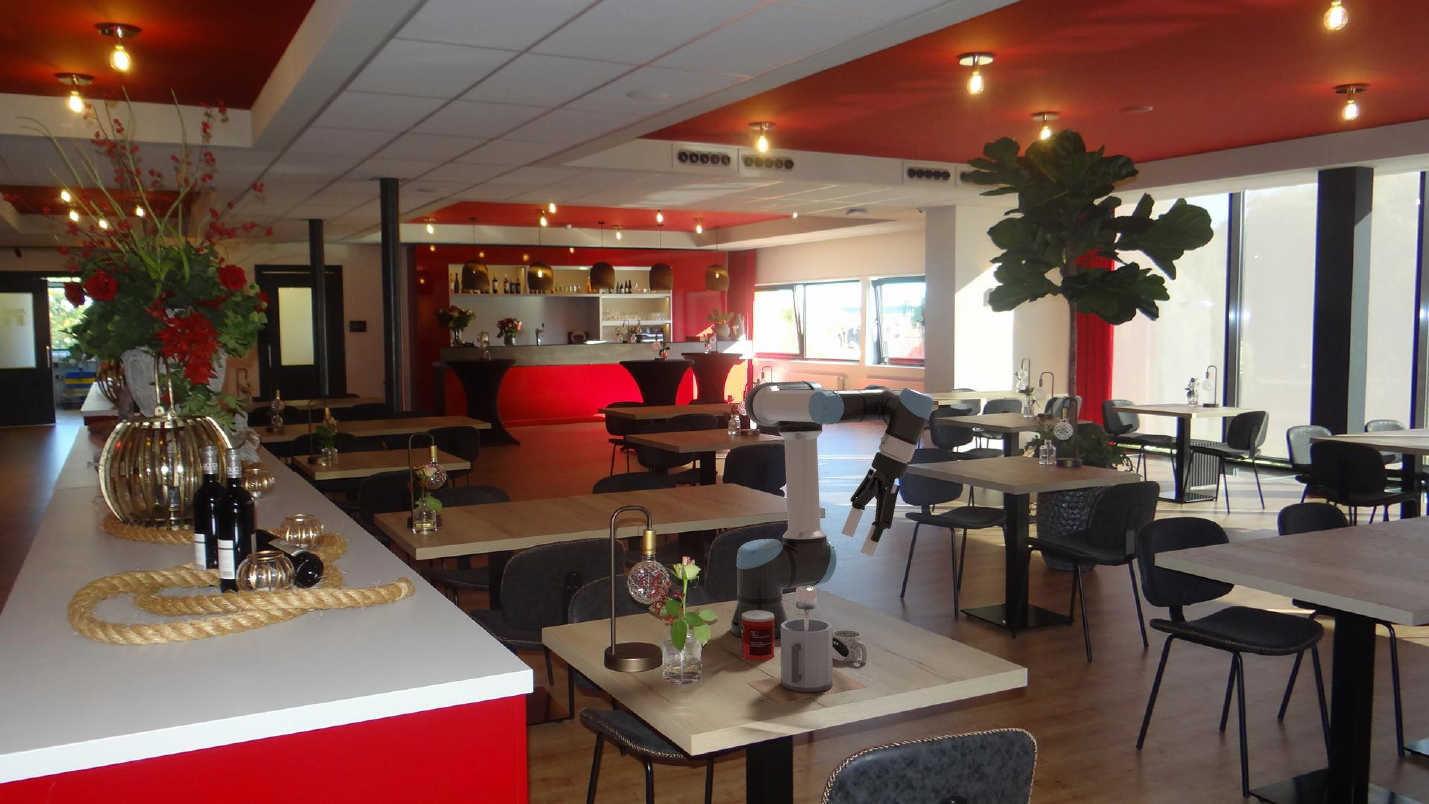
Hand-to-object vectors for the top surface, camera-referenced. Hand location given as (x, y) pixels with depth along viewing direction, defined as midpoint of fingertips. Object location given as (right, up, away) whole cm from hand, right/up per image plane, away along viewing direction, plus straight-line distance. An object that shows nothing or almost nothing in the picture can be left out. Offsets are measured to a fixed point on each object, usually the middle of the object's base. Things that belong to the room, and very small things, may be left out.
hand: (856, 544), depth 223 cm
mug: (0, -29, +10) cm, 31 cm away
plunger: (-12, -27, -8) cm, 30 cm away
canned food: (-21, -29, +13) cm, 39 cm away
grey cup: (-12, -29, -9) cm, 33 cm away
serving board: (-12, -30, -8) cm, 33 cm away
